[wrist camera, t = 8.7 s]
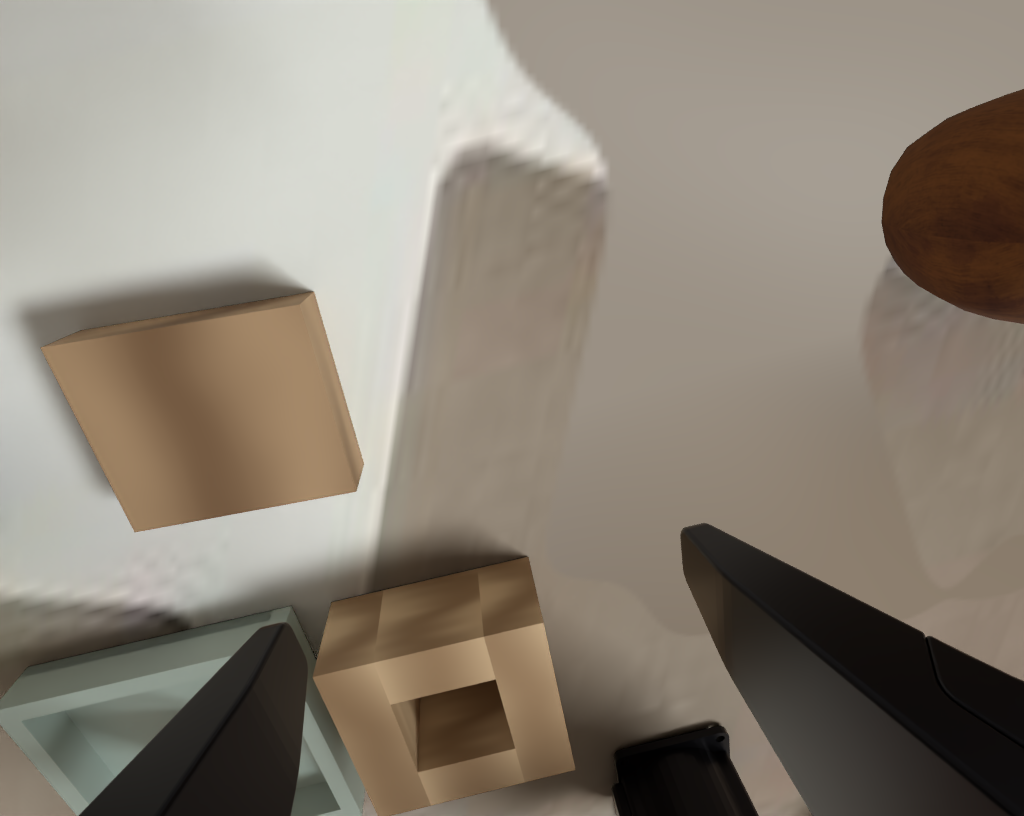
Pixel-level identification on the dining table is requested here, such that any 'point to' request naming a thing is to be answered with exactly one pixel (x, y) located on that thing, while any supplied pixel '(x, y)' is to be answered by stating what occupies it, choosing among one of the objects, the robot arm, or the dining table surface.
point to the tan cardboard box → (212, 410)
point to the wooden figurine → (964, 210)
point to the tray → (158, 713)
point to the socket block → (444, 687)
